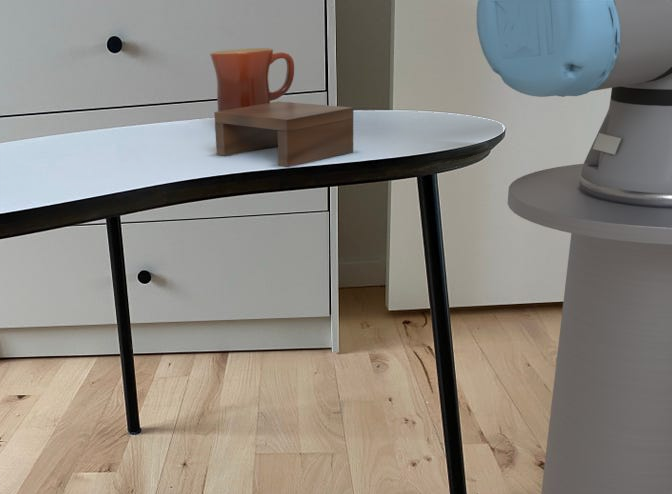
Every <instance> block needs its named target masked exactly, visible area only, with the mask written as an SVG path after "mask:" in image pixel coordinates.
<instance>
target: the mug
mask: <svg viewBox="0 0 672 494" xmlns="http://www.w3.org/2000/svg"><path fill="white" fill-rule="evenodd" d="M209 56H210V60H211V61H212V65H213V68H214V72H215V76H216V77H215V78H216V97H217V98H216V99H217V101H216V102H217V112H218V111H224V110H230V109H236V108H242V107H248V106H254V105H260V104H266V103H271V102H273V101H275V100H278V99H280V98H281V97H282V96H284V95H285V94H286V93H287V92H288V91H289V90H290V88H291V86H292V84H293V81H294V76H295V61H294V59H293V57H292V56H291V55H290V54H289V53H287V52H282V51H280V52H274V49H273V48H270V47H256V48H255V47H253V48H238V49H226V50H218V51H211V52H210V53H209ZM279 59H283V60H284V61H285V63H286V71H285V73H286V74H285V78H284V81H283V84H282V85H281V87H280V88H278V89H275V90H274V91H270V82H269V74H270V72H269V71H270V67H271V65H272V64H273V63H274V62H275V61H277V60H279Z"/></svg>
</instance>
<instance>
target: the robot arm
mask: <svg viewBox="0 0 672 494" xmlns="http://www.w3.org/2000/svg"><path fill="white" fill-rule="evenodd" d="M476 29H477V30H476V31H477V35H478V40H479V45H480V48H481V51H482V54H483V56H484V57H485V59H486V62H487V64H488V65H489V67H490V68H491V70H492V71H493V72H494V74H497V75H499V76H500V78H501V80H502V81H503V83H504V84H505V85H506V86H508V87H509V88H511V89H512V90H514V91H516V92H518V93H520V94H523V95H527V96H530V97H536V98H537V97H538V98H545V97H546V98H547V97H563V98H564V97H579V96H582V95H586V94H588V93H590V92H594V91H601V90H607V89H611V93H610V100H609V106H608V110H607V112H606V114H605V117H604V119H603V121H602V123H601V126H600V127H599V129H598V132H597V134H596V135H595V138H594V140H593V142H592V144H591V147H590V149H589V151H588V153H587V155H586V158H585V160H584V162H583V163H582V164H583V167H582V172H581V174H580V183H579V189H580V191H581V192H583V193H584V194H586V195H588V196H590V197H593V198H596V199H599V200H603V201H607V202H612V203H618V204H624V205H631V206H640V207H652V208H672V0H477V4H476Z"/></svg>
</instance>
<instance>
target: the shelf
mask: <svg viewBox="0 0 672 494" xmlns="http://www.w3.org/2000/svg"><path fill="white" fill-rule="evenodd" d="M214 130H215V132H214V133H215V146H216V149H215V150H216V155H217V156H223V157H227V156H232V155H236V154H241V153H246V152H251V151H257V150H261V149H266V148H271V147H275V146H276V147H277V158H278V159H277V160H278V161H277V162H278V166H281V167H287V168H288V167H294V166H297V165H298V166H299V165H303V164H308V163H311V162H315V161H319V160H320V161H321V160H325V159H329V158H334V157H338V156H342V155H347V154H351V153H352V154H353V152H354V107H352V106H339V105H329V104H327V105H326V104H315V103H303V102H289V101H271V102H270V103H266V104H260V105H254V106H248V107H242V108H236V109H230V110H224V111H218V110H217V111H214Z"/></svg>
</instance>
